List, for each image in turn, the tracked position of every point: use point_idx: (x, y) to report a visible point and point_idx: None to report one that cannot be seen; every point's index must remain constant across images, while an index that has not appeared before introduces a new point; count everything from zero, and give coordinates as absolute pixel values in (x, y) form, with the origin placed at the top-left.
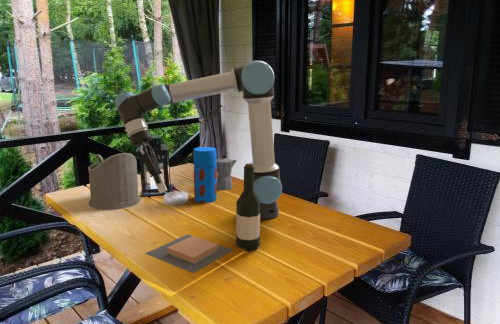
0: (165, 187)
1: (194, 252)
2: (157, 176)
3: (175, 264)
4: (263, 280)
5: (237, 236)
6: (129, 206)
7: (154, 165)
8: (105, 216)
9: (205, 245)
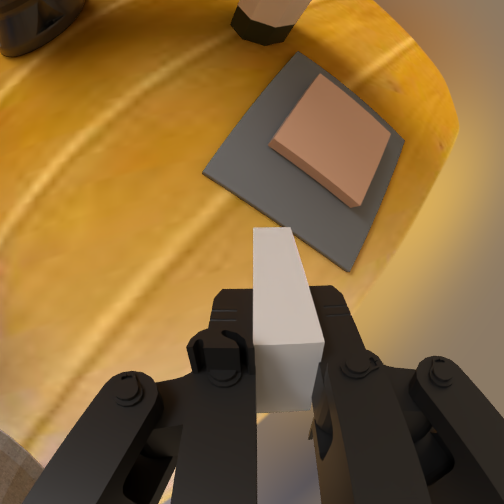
0: (283, 238)
1: (370, 130)
2: (357, 340)
3: (386, 179)
4: (380, 41)
5: (281, 26)
6: (9, 438)
7: (421, 480)
8: None
9: (331, 102)
